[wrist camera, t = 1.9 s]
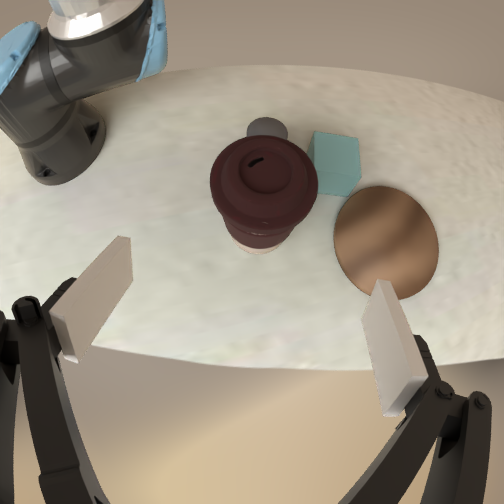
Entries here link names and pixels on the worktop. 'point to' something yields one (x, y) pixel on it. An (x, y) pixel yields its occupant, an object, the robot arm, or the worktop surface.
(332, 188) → the teal block
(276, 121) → the gray cylinder
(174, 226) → the worktop surface
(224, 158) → the coffee cup
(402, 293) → the walnut board
